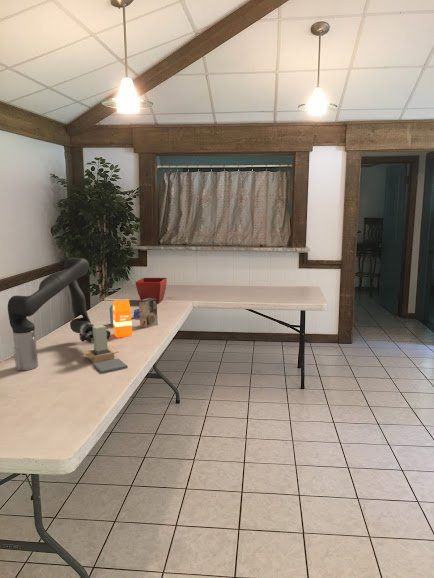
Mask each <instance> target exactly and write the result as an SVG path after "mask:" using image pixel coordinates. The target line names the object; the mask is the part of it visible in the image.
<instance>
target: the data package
mask: <svg viewBox="0 0 434 578" xmlns="http://www.w3.org/2000/svg"><path fill="white" fill-rule="evenodd" d="M109 317H110V318H109V319H110V325H112V326H114V324H113V304H111V305H110V306H109Z"/></svg>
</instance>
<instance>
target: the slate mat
mask: <svg viewBox="0 0 434 578" xmlns="http://www.w3.org/2000/svg"><path fill="white" fill-rule="evenodd" d="M92 365H93V366H94V368H95V369H96V370H98V372H100V374H105V373H109V372H115V371H121V370H123V369H127V368H128V365H127V364H126V363H125V362H123V361H122V360H121V359H119V358H114V359H113V360H108V361H102V362H97V363H93V362H92Z"/></svg>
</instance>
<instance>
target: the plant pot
mask: <svg viewBox="0 0 434 578" xmlns="http://www.w3.org/2000/svg"><path fill="white" fill-rule="evenodd" d="M167 282H168V278H167V277H142V278H140V279H138V280H136V281H135V288H136V290H137V293H138V297H139V300H142V299H147V298H154V299H156V301H157V304H160V303H161V302H162V301H164V297H165V295H166V289H167V284H168V283H167Z"/></svg>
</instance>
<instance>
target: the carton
mask: <svg viewBox="0 0 434 578" xmlns="http://www.w3.org/2000/svg"><path fill="white" fill-rule="evenodd" d="M107 349H108V353H106V354H101V355H94V349H91V350H86V351H82V353H83V355H85V357H86V358H87V359H89V360H91V362H92V364H93V363H97V362H102V361H108V360H113V359H115V354H119V353H120V351H119V350H118V349H116V348H115V347H114V346H107Z"/></svg>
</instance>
